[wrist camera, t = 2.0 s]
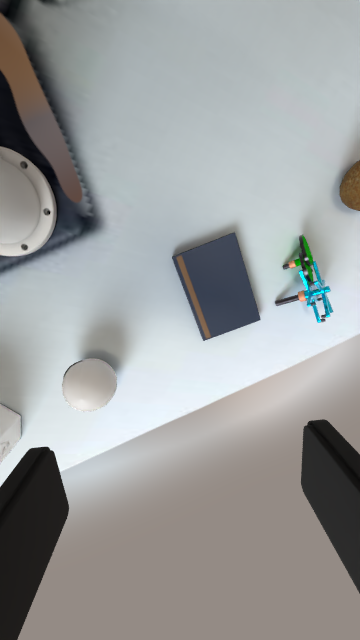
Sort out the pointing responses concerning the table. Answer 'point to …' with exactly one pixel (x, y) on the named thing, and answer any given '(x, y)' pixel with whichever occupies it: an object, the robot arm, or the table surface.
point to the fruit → (351, 188)
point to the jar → (8, 430)
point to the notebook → (217, 286)
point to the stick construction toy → (309, 282)
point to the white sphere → (89, 384)
